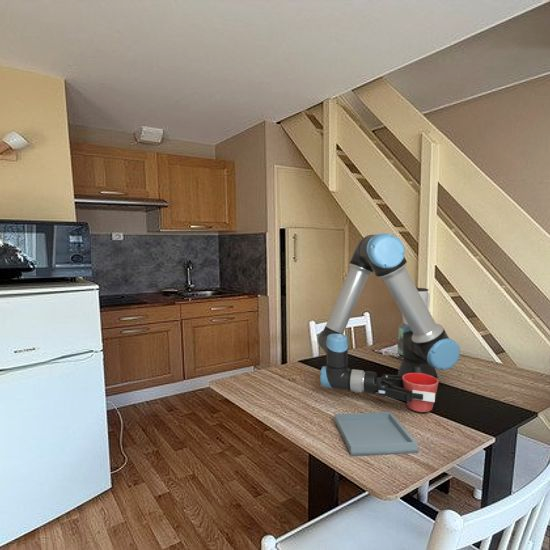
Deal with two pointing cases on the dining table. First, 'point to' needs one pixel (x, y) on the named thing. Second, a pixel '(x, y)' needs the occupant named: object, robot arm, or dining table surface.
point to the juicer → (426, 299)
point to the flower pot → (420, 389)
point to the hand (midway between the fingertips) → (434, 391)
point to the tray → (374, 434)
